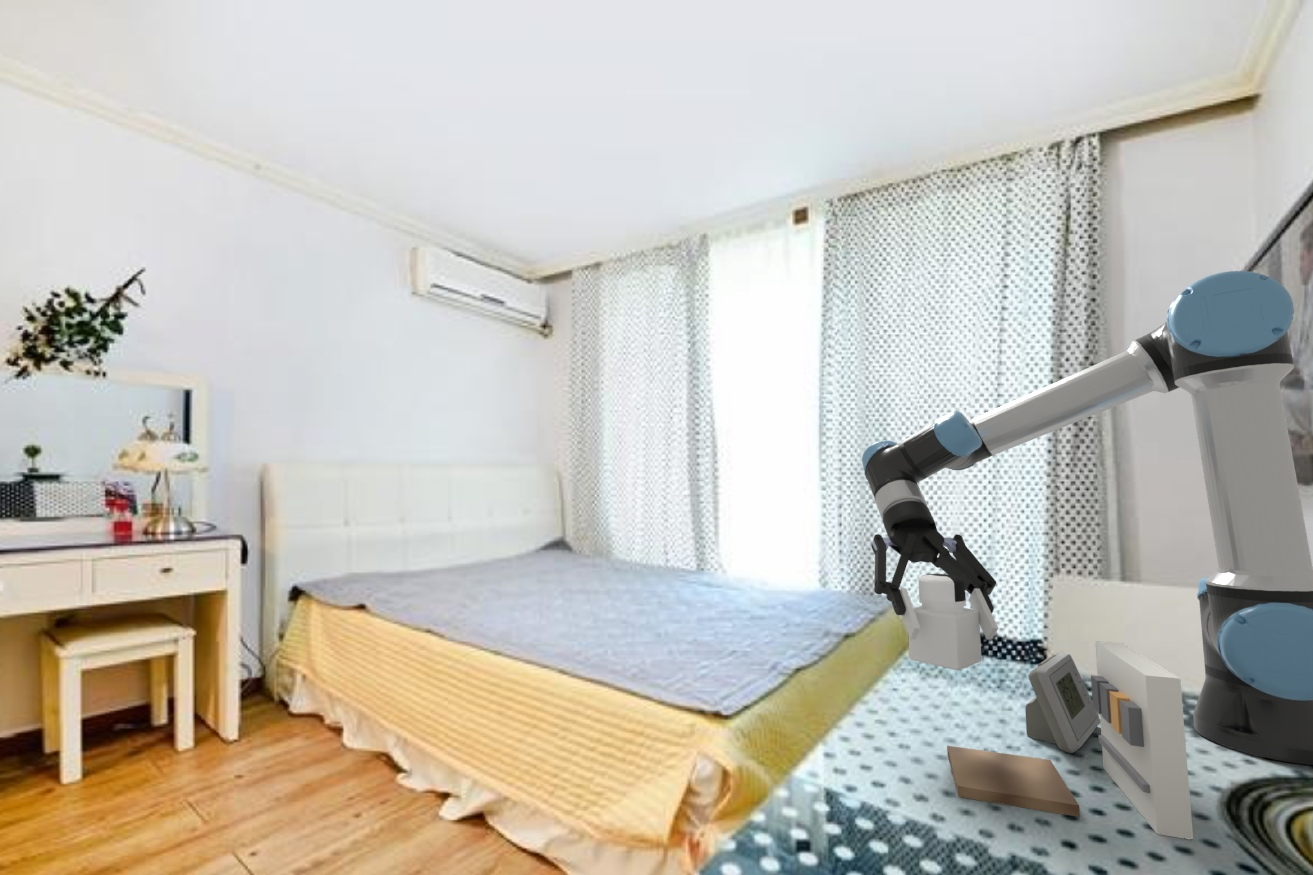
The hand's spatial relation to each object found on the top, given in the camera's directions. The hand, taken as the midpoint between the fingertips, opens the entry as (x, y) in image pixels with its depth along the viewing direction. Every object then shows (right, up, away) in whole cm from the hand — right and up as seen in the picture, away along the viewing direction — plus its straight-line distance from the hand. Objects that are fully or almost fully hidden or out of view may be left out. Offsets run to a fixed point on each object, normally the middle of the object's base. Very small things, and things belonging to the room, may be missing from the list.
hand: (953, 633), depth 81 cm
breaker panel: (+16, -15, -13) cm, 25 cm away
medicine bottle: (0, -5, +3) cm, 6 cm away
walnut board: (+2, -15, -9) cm, 18 cm away
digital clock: (+20, -17, +5) cm, 27 cm away
